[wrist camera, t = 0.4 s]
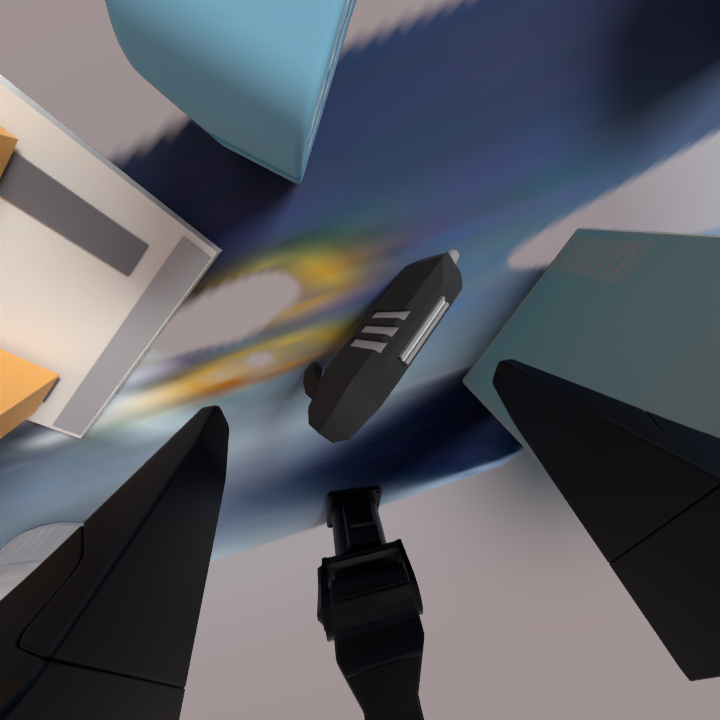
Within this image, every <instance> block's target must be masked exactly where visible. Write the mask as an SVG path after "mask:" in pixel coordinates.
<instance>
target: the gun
mask: <svg viewBox="0 0 720 720" xmlns="http://www.w3.org/2000/svg"><path fill="white" fill-rule="evenodd" d="M458 259H459V253H458V252H457V251H456V250H454V249H450V250H448V251H447V252H446V253H444V254H440V255H437V256H433V257H429V258H425V259H422V260H419V261H417V262H414V263H412V264H410V265H407V266H406V267H405V268H404V270H403V271H402V272H401V274H400V275H399V276H398V277H397V279H396V280H395V281H394V283H393V284H392V285H391V286H390V288H389V289H388V290H387V292H386V293H385V294H384V295H383V297H382V298H381V299H380V301H379V302H378V303H377V304H376V306H375V307H374V308H373V310H372V311H371V312H370V313H369V315H368V316H367V317H366V319H365V320H364V321H363V322H362V324H361V325H360V326H359V328H358V329H357V330H356V331H355V333H354V334H353V335H352V337H351V338H350V339H349V340H348V342H347V343H346V344H345V346H344V347H343V348H342V350H341V351H340V352H339V353H338V355H337V356H336V357H335V359H334V360H333V361H332V362H331V364H330V365H329V366H328V368H327V369H326V370H325V372H324V374H323V376H322V377H321V375H322V368H321V367H320V366H319V365H317V364H316V363H315V362H313V363H312V364H311V365H310V366H309V367H308V369H307V370H306V371H305V375H304V381H303V383H304V388H305V393H306V394H307V395H308V396H309V397H310V398H311V399H312V401H311V403H310V405H309V407H308V414H309V425H310V426H312V427H313V428H314V429H315V430H316V431H317V432H318V433H319V434H321V435H322V436H324V437H325V438H326V439H328V440H329V441H331V442H332V443H335V442H339V441H343V440H347V439H350V438H351V437H352V436H353V435H354V434H355V433H356V432H357V431H358V430H359V429H360V428H361V427H362V426H363V425H364V424H365V422H366V421H367V420H368V419H369V418H370V417H371V416H372V415H373V414H374V413H375V412H376V411H377V410H378V409H379V408H380V407H381V405H382V404H383V403H384V401H385V400H386V398H387V397H388V396H389V394H390V393H391V391H392V390H393V389H394V387H395V386H396V384H397V383H398V382H399V380H400V379H401V377H402V376H403V374H404V373H405V371H406V370H407V369H408V367H409V366H410V364H411V363H412V361H413V360H414V358H415V357H416V355H417V354H418V352H419V351H420V350H421V348H422V347H423V345H424V344H425V342H426V341H427V339H428V338H429V336H430V335H431V334H432V332H433V331H434V329H435V328H436V326H437V325H438V323H439V322H440V320H441V319H442V317H443V316H444V315H445V313H446V312H447V310H448V309H449V307H450V306H451V304H452V303H453V301H454V300H455V298H456V297H457V295H458V294H459V292H460V291H461V289H462V278H461V273H460V271H459V270H458V268H457V266H456V263H457V261H458Z"/></svg>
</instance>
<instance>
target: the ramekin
mask: <svg viewBox="0 0 720 720" xmlns="http://www.w3.org/2000/svg"><path fill="white" fill-rule="evenodd" d="M80 526H84V523H77V522H60V523H52V524H46V525H42V526H39V527H36V528H33V529H31V530H29V531H26V532H24V533H22V534H20V535H18V536H17V537H15V538H13V539H12V540H11V541H10V542H9V543H8V544H6V545H5V546H4V547H3V548H2V549H1V550H0V600H1V599H2V598H4V597H5V596H6V595H7V594H8V593H9V592H10V591H11V590H12V589H14V588H15V587H16V586H17V585H18V584H19V583H20V582H21V581H22V580H24V579H25V578H26V577H27V576H28V575H29V574H30V573H31V572H32V571H33V570H35V569H36V568H37V567H38V566H39V565H40V564H41V563H42V562H43V561H44V560H45V559H46V558H47V557H48V556H49V555H50V554H52V553H53V552H54V551H55V550H56V549H57V548H58V547H59V546H60V545H61V544H62V543H63V542H64V541H65V540H66V539H67V538H68V537H69V536H70V535H71V534H72V533H73V532H74V531H76V530H77V529H78V528H79V527H80Z"/></svg>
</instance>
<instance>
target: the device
mask: <svg viewBox="0 0 720 720" xmlns="http://www.w3.org/2000/svg"><path fill="white" fill-rule="evenodd" d="M506 359H514V360H517V361H519V362H522V363H524V364H527V365H530V366H532V367H535V368H537V369H540V370H542V371H545V372H548V373H550V374H553V375H555V376H558V377H560V378H563V379H566V380H568V381H571V382H573V383H576V384H578V385H581V386H584V387H586V388H589V389H591V390H594V391H597V392H599V393H602V394H604V395H607V396H609V397H612V398H615V399H617V400H620V401H622V402H625V403H627V404H630V405H633V406H635V407H638V408H640V409H643V410H644V411H648V412H651V413H653V414H656V415H659V416H661V417H664V418H666V419H669V420H672V421H674V422H677V423H680V424H682V425H685V426H688V427H690V428H693V429H696V430H699V431H702V432H705V433H707V434H710V435H713V436H716V437H719V438H720V235H707V234H689V233H672V232H654V231H653V232H652V231H635V230H618V229H601V228H579V229H577V230H576V231H575V233H574V234H573V236H572V237H571V238H570V239H569V241H568V242H567V243H566V245H565V246H564V247H563V249H562V250H561V251H560V253H559V254H558V255H557V256H556V258H555V259H554V260H553V262H552V263H551V264H550V266H549V267H548V268H547V270H546V271H545V272H544V273H543V275H542V276H541V277H540V279H539V280H538V281H537V283H536V284H535V285H534V287H533V288H532V289H531V291H530V292H529V293H528V294H527V296H526V297H525V298H524V300H523V301H522V302H521V304H520V305H519V306H518V308H517V309H516V310H515V312H514V313H513V314H512V315H511V317H510V318H509V319H508V321H507V322H506V323H505V325H504V326H503V327H502V329H501V330H500V331H499V333H498V334H497V335H496V336H495V338H494V339H493V340H492V342H491V343H490V344H489V346H488V347H487V348H486V350H485V351H484V352H483V354H482V355H481V356H480V357H479V359H478V360H477V361H476V363H475V364H474V365H473V367H472V368H471V369H470V371H469V372H468V373H467V375H466V376H465V377H464V378H463V380H462V381H463V384H464V385H465V386H466V387H467V388H468V389H469V390H470V391H471V392H472V393H473V394H474V395H475V396H476V397H477V398H478V399H479V400H480V401H481V402H482V404H483V405H484V406H485V407H486V408H487V409H488V410H489V411H490V412H491V413H492V414H493V415H494V416H495V417H496V418H497V419H498V420H499V421H500V422H501V423H502V424H503V426H504V427H505V428H506V429H507V430H508V431H509V432H510V433H511V434H512V435H513V436H514V437H515V438H516V439H517V440H518V441H519V442H520V443H521V444H522V445H523V447H524V448H525V449H526V450H527V451H528V452H529V453H530V454H531V455H532V456H533V457H534V458H535V459H536V460H537V461H538V462H539V463H540V461H539V460H538V458H537V457H536V455H535V454H534V452H533V451H532V450H531V448H530V447H529V445H528V444H527V442H526V441H525V439H524V438H523V436H522V435H521V433H520V432H519V430H518V429H517V427H516V426H515V424H514V423H513V421H512V419H511V417H510V416H509V414H508V412H507V410H506V408H505V406H504V404H503V403H502V401H501V399H500V397H499V395H498V393H497V392H496V390H495V388H494V386H493V382H492V380H493V376H494V373H495V370H496V367H497V364H498V362H499V361H501V360H506ZM540 464H541V463H540ZM541 465H542V464H541Z"/></svg>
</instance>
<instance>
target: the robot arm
mask: <svg viewBox="0 0 720 720" xmlns="http://www.w3.org/2000/svg"><path fill="white" fill-rule="evenodd" d="M492 382H493V386H494V388H495V390H496V392H497V393H498V395H499V397H500V399H501V401H502V403H503V404H504V406H505V408H506V410H507V412H508V414H509V416H510V417H511V419H512V421H513V423H514V424H515V426H516V427H517V429H518V430H519V432H520V433H521V435H522V436H523V438H524V439H525V441H526V442H527V444H528V445H529V447H530V448H531V450H532V451H533V452H534V454H535V455H536V457H537V458H538V460H539V461H540V463H541V464H542V466H543V467H544V469H545V470H546V471H547V473H548V475H549V476H550V477H551V479H552V480H553V482H554V483H555V485H556V486H557V488H558V489H559V491H560V492H561V494H562V495H563V497H564V498H565V500H566V501H567V502H568V504H569V505H570V507H571V508H572V510H573V511H574V513H575V514H576V516H577V517H578V519H579V520H580V522H581V523H582V524H583V526H584V527H585V529H586V530H587V532H588V533H589V535H590V536H591V538H592V539H593V541H594V542H595V544H596V545H597V547H598V548H599V549H600V551H601V552H602V554H603V555H604V557H605V558H606V560H607V561H608V562H609V563H610V566H611V567H612V569H613V570H614V572H615V573H616V575H617V576H618V578H619V579H620V581H621V582H622V584H623V585H624V587H625V588H626V590H627V591H628V592H629V594H630V595H631V597H632V598H633V600H634V601H635V603H636V604H637V606H638V607H639V609H640V610H641V611H642V613H643V615H644V616H645V618H646V619H647V620H648V622H649V623H650V625H651V626H652V628H653V629H654V631H655V632H656V634H657V635H658V636H659V638H660V640H661V641H662V643H663V644H664V646H665V647H666V648H667V650H668V651H669V653H670V654H671V656H672V657H673V659H674V660H675V662H676V663H677V665H678V666H679V667H680V669H681V670H682V672H683V673H684V674H685V675H686V677H687V678H688V679H689V680H690V681H695V680H702V679H708V678H715V677H720V438H719V437H716V436H713V435H710V434H707V433H705V432H702V431H699V430H696V429H693V428H690V427H688V426H685V425H682V424H680V423H677V422H674V421H672V420H669V419H666V418H664V417H661V416H659V415H656V414H653V413H651V412H648V411H644V410H643V409H640V408H638V407H635V406H633V405H630V404H627V403H625V402H622V401H620V400H617V399H615V398H612V397H609V396H607V395H604V394H602V393H599V392H597V391H594V390H591V389H589V388H586V387H584V386H581V385H578V384H576V383H573V382H571V381H568V380H566V379H563V378H560V377H558V376H555V375H553V374H550V373H548V372H545V371H542V370H540V369H537V368H535V367H532V366H530V365H527V364H524V363H522V362H519V361H517V360H514V359H506V360H501V361H499V362H498V364H497V367H496V370H495V373H494V376H493V380H492ZM228 439H229V426H228V423H227V421H226V419H225V417H224V415H223V412H222V410H221V408H220V407H219V406H216V405H215V406H209V407H204V408H202V409H201V410H199V411H198V412H197V413H196V414H195V415H194V416H193V417H192V418H191V419H190V420H189V421H188V422H187V423H186V424H185V425H184V426H183V427H182V428H181V429H180V430H179V431H178V432H177V433H176V434H175V435H174V436H173V437H172V438H171V439H170V440H169V441H167V442H166V443H165V444H164V445H163V446H162V447H161V448H160V449H159V450H158V451H157V452H156V453H155V454H154V455H153V456H152V457H151V458H150V459H149V460H148V461H147V462H146V463H145V464H144V465H143V466H142V467H141V468H140V469H139V470H138V471H137V472H136V473H134V474H133V475H132V476H131V477H130V478H129V479H128V480H127V481H126V482H125V483H124V484H123V485H122V486H121V487H120V488H119V489H118V490H117V491H116V492H115V493H114V494H113V495H112V496H111V497H110V498H109V499H108V500H107V501H106V502H105V503H104V504H102V505H101V506H100V507H99V508H98V509H97V510H96V511H95V512H94V513H93V514H92V515H91V516H90V517H89V518H88V519H87V520H86V521H85V522H84V526H80V527H79V528H78V529H77V530H76V531H74V532H73V533H72V534H71V535H70V536H69V537H68V538H67V539H66V540H65V541H64V542H63V543H62V544H61V545H60V546H59V547H58V548H57V549H56V550H55V551H54V552H53V553H52V554H50V555H49V556H48V557H47V558H46V559H45V560H44V561H43V562H42V563H41V564H40V565H39V566H38V567H37V568H36V569H35V570H33V571H32V572H31V573H30V574H29V575H28V576H27V577H26V578H25V579H24V580H22V581H21V582H20V583H19V584H18V585H17V586H16V587H15V588H14V589H12V590H11V591H10V592H9V593H8V594H7V595H6V596H5V597H4V598H2V599H1V600H0V720H179V717H180V712H181V707H182V702H183V697H184V691H185V689H184V687H185V685H186V680H187V675H188V670H189V665H190V660H191V654H192V649H193V644H194V639H195V634H196V629H197V624H198V619H199V614H200V608H201V603H202V598H203V592H204V587H205V583H206V578H207V572H208V567H209V562H210V557H211V552H212V547H213V542H214V537H215V531H216V526H217V521H218V516H219V511H220V506H221V501H222V495H223V490H224V485H225V478H226V466H227V453H228ZM380 497H381V488H380V487H369V488H361V489H353V490H344V491H336V492H331V493H329V494H328V511H327V527H329V528H332V527H333V535H334V544H335V553H336V556H333V557H329V558H327V557H325V558H322V565H321V566H320V567H319V568H318V609H317V617H318V621H319V622H320V623H321V624H322V625H323V626H324V631H326V635H327V641H328V642H329V641H333V640H334V642H335V651H336V652H335V653H336V660H337V664H338V666H339V668H340V670H341V672H342V674H343V676H344V678H345V680H346V681H347V683H348V685H349V687H350V689H351V691H352V692H353V694H354V696H355V698H356V700H357V702H358V704H359V705H360V707H361V709H362V711H363V713H364V716H365V720H424V718H423V713H422V709H421V705H420V700H419V696H418V691H419V682H420V673H421V663H422V654H423V644H424V631H423V628H422V624H421V620H420V616H419V615H422V613H423V606H422V600H421V595H420V592H419V587H418V584H417V581H416V578H415V575H414V572H413V570H412V567H411V564H410V562H409V559H408V557H407V554H406V551H405V549H404V546H403V544H402V542H401V539H398V540H396V541H394V542H390V543H386V540H385V536H384V532H383V528H382V525H381V521H380V517H379V513H378V508H379V502H380Z"/></svg>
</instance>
